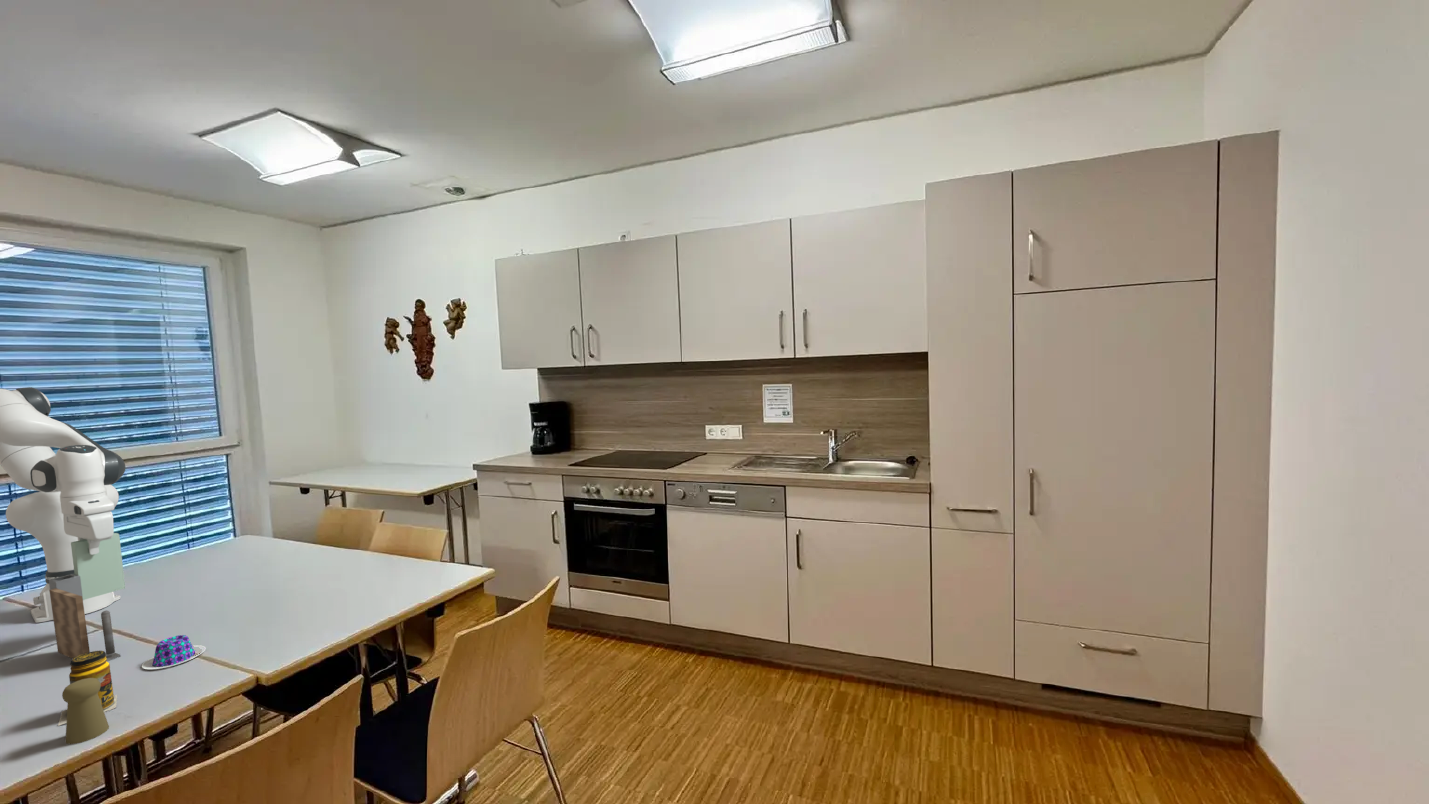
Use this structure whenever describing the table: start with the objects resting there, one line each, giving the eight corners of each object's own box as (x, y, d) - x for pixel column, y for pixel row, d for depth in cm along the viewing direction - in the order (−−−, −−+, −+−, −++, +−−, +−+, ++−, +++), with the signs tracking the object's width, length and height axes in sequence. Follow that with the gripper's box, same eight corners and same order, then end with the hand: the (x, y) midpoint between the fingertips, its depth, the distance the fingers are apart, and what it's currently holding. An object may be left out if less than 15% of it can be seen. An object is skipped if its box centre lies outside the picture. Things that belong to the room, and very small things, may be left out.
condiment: (116, 708, 127) (109, 655, 126) (57, 726, 121) (50, 670, 120) (117, 695, 132) (110, 644, 131) (61, 712, 126) (54, 659, 125)
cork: (117, 725, 121) (111, 673, 120) (83, 744, 115) (76, 690, 114) (91, 724, 121) (84, 673, 120) (56, 744, 115) (48, 690, 114)
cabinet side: (58, 652, 155) (49, 590, 154) (85, 643, 160) (77, 582, 159) (91, 666, 146) (83, 600, 145) (120, 656, 151) (112, 592, 150)
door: (51, 605, 158) (44, 547, 157) (119, 586, 170) (113, 532, 169) (59, 607, 156) (51, 549, 155) (127, 588, 168) (120, 534, 167)
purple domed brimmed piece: (196, 644, 157) (193, 625, 156) (213, 654, 151) (211, 634, 150) (134, 665, 147) (132, 645, 146) (151, 677, 140) (148, 656, 140)
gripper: (52, 503, 164) (58, 552, 165) (84, 510, 155) (90, 561, 156) (84, 498, 169) (89, 545, 170) (117, 504, 161) (122, 553, 162)
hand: (90, 553), depth 163 cm, fingers closed on door, 2 cm apart
